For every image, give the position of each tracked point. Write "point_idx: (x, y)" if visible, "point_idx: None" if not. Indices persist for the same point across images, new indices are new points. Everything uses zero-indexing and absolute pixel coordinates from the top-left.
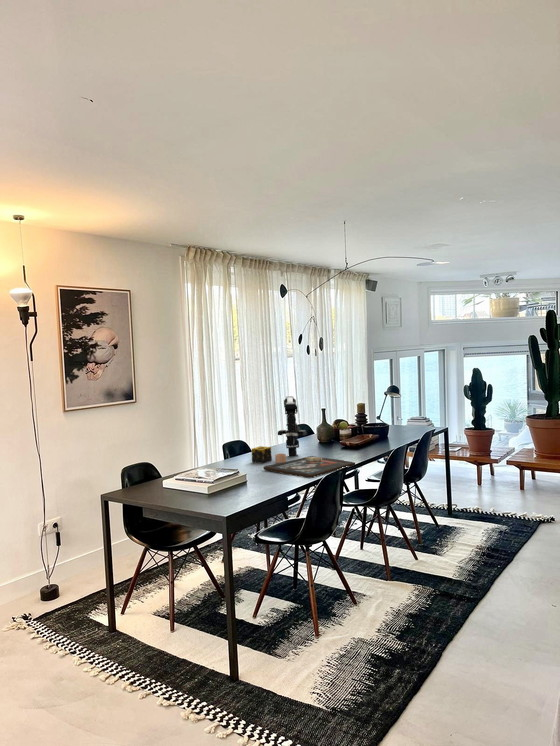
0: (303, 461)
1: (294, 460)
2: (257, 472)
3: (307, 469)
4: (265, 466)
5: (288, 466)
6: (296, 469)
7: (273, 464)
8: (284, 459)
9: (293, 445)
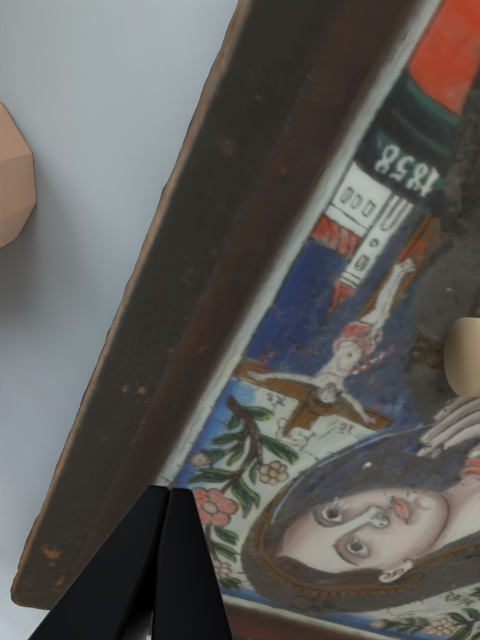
0: (368, 222)
1: (212, 253)
2: (16, 608)
3: (476, 582)
4: (25, 598)
5: (244, 519)
6: (367, 597)
7: (49, 524)
8: (3, 222)
9: (193, 506)
